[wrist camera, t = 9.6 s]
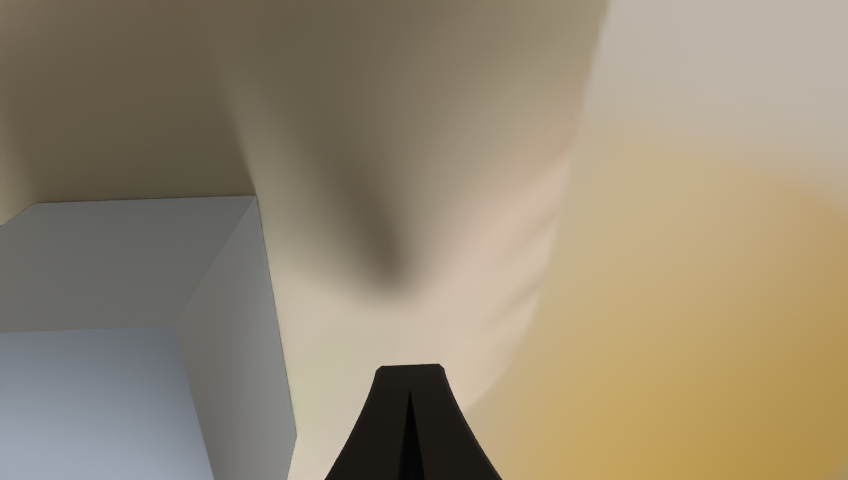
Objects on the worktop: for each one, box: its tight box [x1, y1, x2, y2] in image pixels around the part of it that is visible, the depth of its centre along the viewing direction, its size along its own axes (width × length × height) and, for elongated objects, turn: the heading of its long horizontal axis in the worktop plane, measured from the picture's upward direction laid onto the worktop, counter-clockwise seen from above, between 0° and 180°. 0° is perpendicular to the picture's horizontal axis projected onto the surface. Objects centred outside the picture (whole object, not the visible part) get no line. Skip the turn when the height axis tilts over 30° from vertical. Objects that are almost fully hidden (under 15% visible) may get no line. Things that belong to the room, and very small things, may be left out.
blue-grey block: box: [0, 195, 297, 480], centre depth 12 cm, size 7×5×5 cm
